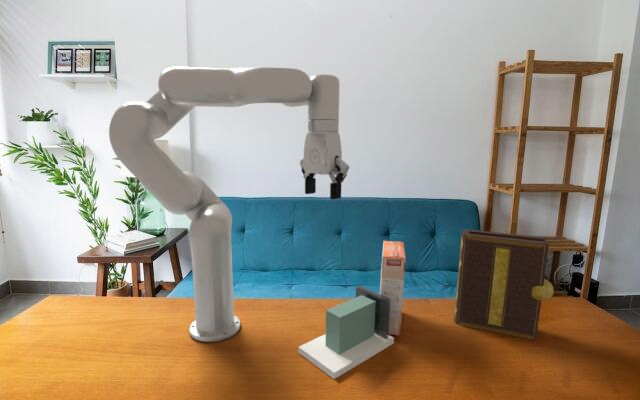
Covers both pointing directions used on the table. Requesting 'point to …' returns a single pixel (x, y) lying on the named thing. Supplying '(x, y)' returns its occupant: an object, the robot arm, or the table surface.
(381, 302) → the bookend
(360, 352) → the shelf board
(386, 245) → the cracker box
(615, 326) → the table surface
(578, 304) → the table surface
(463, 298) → the book
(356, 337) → the book block
